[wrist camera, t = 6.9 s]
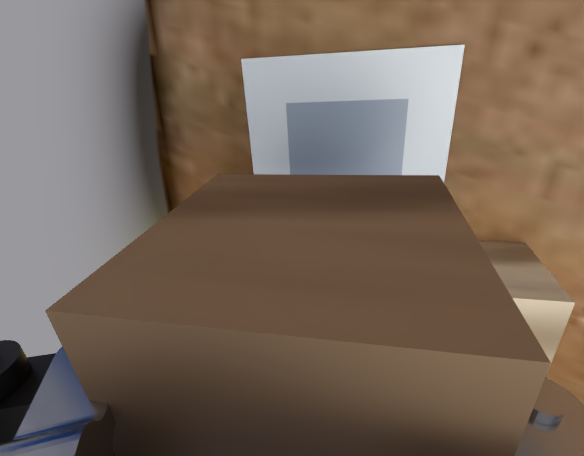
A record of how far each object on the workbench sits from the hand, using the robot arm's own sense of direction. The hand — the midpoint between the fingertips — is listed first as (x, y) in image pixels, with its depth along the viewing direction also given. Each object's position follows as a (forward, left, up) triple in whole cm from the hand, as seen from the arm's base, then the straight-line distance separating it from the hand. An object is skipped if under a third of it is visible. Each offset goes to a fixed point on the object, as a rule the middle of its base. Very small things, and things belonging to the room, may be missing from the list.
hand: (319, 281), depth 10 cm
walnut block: (0, 0, -1) cm, 1 cm away
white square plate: (0, 0, -13) cm, 13 cm away
